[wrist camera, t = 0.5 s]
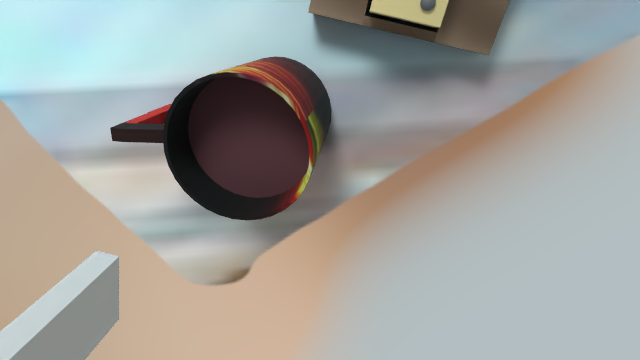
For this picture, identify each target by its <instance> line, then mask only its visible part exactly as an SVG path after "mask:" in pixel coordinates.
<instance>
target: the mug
mask: <svg viewBox="0 0 640 360" xmlns="http://www.w3.org/2000/svg"><path fill="white" fill-rule="evenodd" d="M330 121H331V106H330V99H329V97H328V94H327V91H326V89H325V87H324V85H323V83H322V82H321V80H320V79H319V78H318V77H317V75H316V74H315V73H314V72H313V71H312V70H310V69H309V68H308V67H306V66H305V65H303V64H301V63H299V62H297V61H295V60H292V59H288V58H285V57H269V58H263V59H260V60H257V61H253V62H250V63H246V64H243V65H240V66H236V67H233V68H230V69H226V70H223V71H220V72H216V73H213V74H210V75H207V76H205V77H202V78H200V79H197V80H195V81H194V82H192V83H191V84H190V85H188V86H187V87H185V88H184V89H183V90H182V91H181V92H180V93H179V95H178V96H177V97H176V98H175V99H174V101H173V103H172V104H169V105H166V106H164V107H161V108H158V109H156V110H153V111H151V112H148V113H147V114H144V115H142V116H139V117H137V118H134V119H132V120H129V121H127V122H124V123H121V124H119V125H116V126H114V127H111V128H110V129H111V135H112V141H120V142H146V143H163V144H164V152H165V156H166V159H167V162H168V165H169V168H170V170H171V172H172V174H173V175H174V177H175V179H176V181H177V182H178V183H179V185H180V186H181V187H182V189H183V190H184V191H185V192H186V193H187V194H188V195H189V196H190V197H191V198H192V199H193V200H194V201H195V202H197V203H198V204H200V205H201V206H203V207H204V208H206V209H207V210H210V211H212V212H214V213H216V214H218V215H221V216H224V217H228V218H231V219H239V220H257V219H263V218H266V217H270V216H273V215H275V214H277V213H279V212H281V211H283V210H285V209H286V208H287V207H289V206H290V205H291V204H292V203H294V202H295V201H296V200H297V198H298V197H299V196H300V195H301V193H302V192H303V191H304V189H305V187H306V185H307V183H308V181H309V179H310V176H311V174H312V171H313V168H314V166H315V163H316V161H317V158H318V155H319V153H320V150H321V147H322V145H323V142H324V140H325V137H326V134H327V132H328V129H329V125H330Z"/></svg>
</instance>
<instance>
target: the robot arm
mask: <svg viewBox="0 0 640 360" xmlns="http://www.w3.org/2000/svg"><path fill="white" fill-rule="evenodd" d="M117 320H119V256H115V255H111V254H107V253H103V252H99V251H96V252H94V253H93V254H92V255H91V256H90V257H88V258H87V259H86V260H85V261H84V262H83V263H81V264H80V265H79V266H78V267H77V268H75V269H74V270H73V271H72V272H71V273H69V274H68V275H67V276H66V277H65V278H64V279H62V280H61V281H60V282H59V283H58V284H56V285H55V286H54V287H53V288H52V289H50V290H49V291H48V292H47V293H46V294H44V295H43V296H42V297H41V298H40V299H38V300H37V301H36V302H35V303H34V304H33V305H32V306H30V307H29V308H28V309H27V310H25V311H24V312H23V313H22V314H21V315H19V316H18V317H17V318H16V319H15V320H13V321H12V322H11V323H10V324H9V325H8V326H6V327H5V328H4V329H3V330H2V331H1V332H0V360H85V359H86V358H87V356H88V355H89V354H90V353H91V352H92V350H93V349H94V348H95V347H96V346H97V345H98V343H99V342H100V341H101V340H102V339H103V337H104V336H105V335H106V334H107V333H108V332H109V330H110V329H111V328H112V327H113V326H114V324H115V323H116V322H117Z"/></svg>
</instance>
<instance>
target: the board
mask: <svg viewBox="0 0 640 360" xmlns="http://www.w3.org/2000/svg"><path fill="white" fill-rule="evenodd" d="M368 1H369V0H311V2H310V8H309V13H313V14H317V15H321V16H325V17H330V18H334V19H338V20H342V21H346V22H351V23H355V24H359V25H363V26H367V27H372V28H376V29H380V30H384V31H388V32H392V33H397V34H401V35H405V36H409V37H413V38H418V39H422V40H426V41H430V42H434V43H439V44H443V45H447V46H451V47H455V48H460V49H464V50H468V51H472V52H476V53H481V54H485V55H489V54H490V51H491V48H492V46H493V43H494V40H495V38H496V35H497V33H498V30H499V27H500V25H501V22H502V19H503V17H504V14H505V11H506V9H507V6H508V4H509V1H510V0H449V1H448V4H447V7H446V11H445V14H444V17H443V20H442V23H441V26H440V28H433V31H428V30H424V29H420V28H416V27H411V26H407V25H403V24H399V23H395V22H390V21H386V20H382V19H378V18H374V17H369V16H365V14H366V9H367V5H368Z"/></svg>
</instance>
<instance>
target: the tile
mask: <svg viewBox="0 0 640 360" xmlns="http://www.w3.org/2000/svg"><path fill="white" fill-rule="evenodd" d="M448 1H449V0H372V3H371V7H370V12H369V13H373V14H377V15H381V16H386V17H390V18H394V19H398V20H403V21H407V22H411V23H415V24H419V25H424V26H428V27H432V28H440V26H441V23H442V20H443V17H444V14H445V11H446V7H447V4H448Z"/></svg>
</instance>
